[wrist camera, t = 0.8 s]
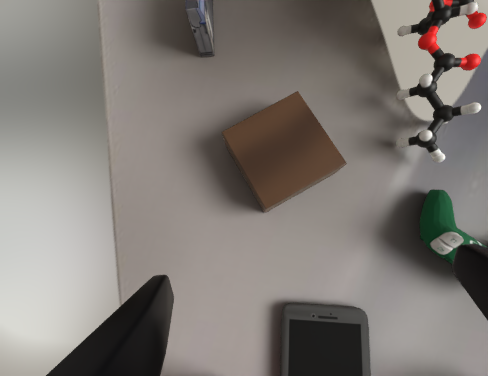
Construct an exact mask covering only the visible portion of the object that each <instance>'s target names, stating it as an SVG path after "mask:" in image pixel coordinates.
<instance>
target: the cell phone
mask: <svg viewBox="0 0 488 376" xmlns="http://www.w3.org/2000/svg"><path fill="white" fill-rule="evenodd" d="M280 376H371V375H370V350H369V327H368V318H367V315H366V313H365V312H364V311H363V310H362V309H360V308H356V307H347V306H333V305H318V304H304V303H288V304H286V305H284V306H283V309H282V319H281V358H280Z"/></svg>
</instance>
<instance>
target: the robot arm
mask: <svg viewBox="0 0 488 376" xmlns="http://www.w3.org/2000/svg"><path fill="white" fill-rule="evenodd" d="M452 270H453V273H454V275H455V276H456V277H457V279H458V280H459V282H460V283H461V284H462V286H463V287H464V288H465V290H466V291H467V293H468V294H469V295H470V297H471V298H472V299H473V301H474V302H475V304H476V305H477V306H478V308H479V309H480V310H481V312H482V313H483V315H484V316H485V317H486V319H487V320H488V248H487V247H484V246H481V245H478V244H463V245H459V246H458V247H457V249H456V253H455V256H454V260H453V263H452ZM173 303H174V295H173V291H172V288H171V284H170V281H169V278H168V276H167V275H156V276H153V277H152V278H151V279H150V280H149V281H147V282H146V283H145V284H144V285H143V286H142V287H141V288H140V289H139V290H138V291H137V292H136V293H135V294H133V295H132V296H131V297H130V298H129V299H128V300H127V301H126V302H125V303H124V304H123V305H122V306H120V307H119V308H118V309H117V310H116V311H115V312H114V313H113V314H112V315H111V316H110V317H109V318H108V319H106V320H105V321H104V322H103V323H102V324H101V325H100V326H99V327H98V328H97V329H96V330H95V331H94V332H92V333H91V334H90V335H89V336H88V337H87V338H86V339H85V340H84V341H83V342H82V343H81V344H80V345H78V346H77V347H76V348H75V349H74V350H73V351H72V352H71V353H70V354H69V355H68V356H67V357H66V358H64V359H63V360H62V361H61V362H60V363H59V364H58V365H57V366H56V367H55V368H54V369H53V370H51V371H50V372H49V374H47V375H46V376H160V374H161V370H162V366H163V362H164V358H165V354H166V348H167V342H168V336H169V329H170V323H171V316H172V309H173Z"/></svg>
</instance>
